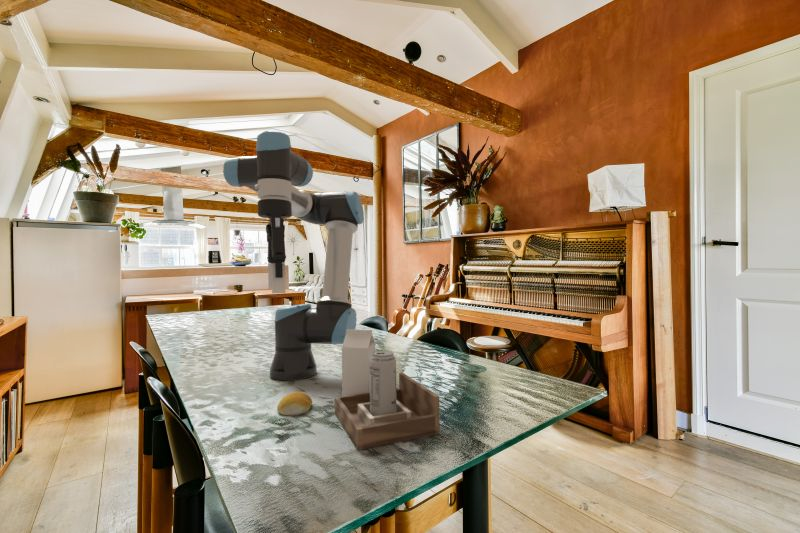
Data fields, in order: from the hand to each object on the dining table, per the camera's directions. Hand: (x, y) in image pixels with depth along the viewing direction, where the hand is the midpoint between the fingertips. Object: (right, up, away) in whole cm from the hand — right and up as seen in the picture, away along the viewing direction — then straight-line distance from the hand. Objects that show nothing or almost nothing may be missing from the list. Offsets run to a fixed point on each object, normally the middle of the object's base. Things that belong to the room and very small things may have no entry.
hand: (276, 291), depth 88 cm
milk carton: (+18, -30, +12) cm, 37 cm away
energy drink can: (+25, -29, -3) cm, 39 cm away
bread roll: (+3, -31, +7) cm, 31 cm away
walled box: (+25, -30, -3) cm, 39 cm away
